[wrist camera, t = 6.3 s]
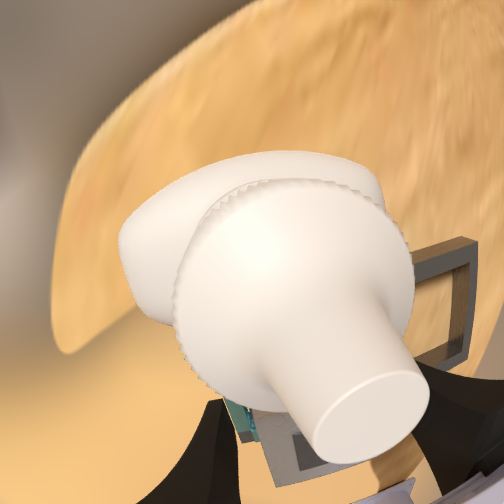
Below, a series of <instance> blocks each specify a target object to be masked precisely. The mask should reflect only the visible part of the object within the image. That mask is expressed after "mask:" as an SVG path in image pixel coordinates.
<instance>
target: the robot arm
mask: <svg viewBox="0 0 504 504" xmlns="http://www.w3.org/2000/svg"><path fill="white" fill-rule="evenodd" d="M415 362H416V364H417V365H418V367H419V369H420V371H421V372H422V374H423V376H424V378H425V379H426V381H427V383H428V386H429V390H430V397H429V402H428V406H427V408H426V411H425V413H424V415H423V416H422V418H421V420H420V421H419V423H418V424H417V425H416V427H415V428H414V429H413V430H412V431H411V433H412V435H413V436H414V438H415V439H416V441H417V443H418V444H419V446H420V448H421V450H422V452H423V453H424V455H425V457H426V459H427V461H428V463H429V465H430V467H431V470H432V472H433V474H434V476H435V478H436V481H437V483H438V486H439V488H440V491H441V494H442V497H441V498H439V499H437V500H436V501H434V502H432V503H430V504H504V380H486V379H477V378H470V377H464V376H460V375H456V374H452V373H448V372H445V371H442V370H439V369H436V368H434V367H431V366H428V365H426V364H424V363H421V362H419V361H417V360H415ZM238 478H239V476H238V447H237V441H236V435H235V429H234V426H233V424H232V421H231V419H230V416H229V414H228V411H227V408H226V406H225V403H224V401H223V399H217V400H211V401H209V402H208V403H207V405H206V408H205V411H204V414H203V416H202V418H201V421H200V423H199V426H198V428H197V430H196V432H195V434H194V436H193V438H192V440H191V442H190V443H189V445H188V447H187V449H186V450H185V452H184V454H183V455H182V457H181V458H180V460H179V461H178V463H177V464H176V465H175V467H174V468H173V469H172V470H171V472H170V473H169V474H168V475H167V477H166V478H165V479H164V480H163V481H162V482H161V483H160V484H159V485H158V486H157V487H156V488H155V489H154V490H153V491H152V492H150V493H149V494H148V495H147V496H146V497H145V498H143V499H142V500H141V501H139V502H138V503H137V504H241V500H240V494H239V479H238ZM414 483H415V478H414V477H412V478H410V479H408V480H406V481H403V482H401V483H399V484H397V485H395V486H393V487H391V488H388V489H386V490H384V491H381V492H379V493H377V494H374V495H372V496H369V497H367V498H364V499H361V500H359V501H356V502H353V503H350V504H414V503H413V501H412V500H411V498H410V493H411V490H412V488H413V485H414Z"/></svg>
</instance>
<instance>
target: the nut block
mask: <svg viewBox="0 0 504 504" xmlns="http://www.w3.org/2000/svg"><path fill="white" fill-rule="evenodd" d="M252 414H253V419H254V423H255V427H256V430H257V433H258V436H259V439H260V442H261V445H262V448H263V451H264V454H265V457H266V460H267V463H268V466H269V469H270V472H271V474H272V477H273V480H274V483H275V486H276V487H281V486H286V485H291V484H295V483H299V482H303V481H306V480H310V479H314V478H317V477H321V476H324V475H327V474H331V473H334V472H337V471H340V470H343V469H346V468H349V467H352V466H354V465H357V464H360V463H363V462H365V461H368V460H370V459H368V460H365V461H362V462H358V463H352V464H334V463H330V462H327V461H325V460H323V459H321V458H320V457H319V456H318V455H317V454H316V452H315V451H314V450H313V448H312V447H311V445H310V444H309V442H308V441H307V439H306V438H305V437H304V435H303V434H302V432H301V431H300V429H299V428H298V426H297V425H296V423H295V422H294V420H293V419H292V417H291V416H290V414H289V413H288V412H267V411H260V410H256V409H252ZM380 455H381V454H380ZM380 455H378V456H380ZM378 456H376V457H378ZM374 458H375V457H374ZM371 459H373V458H371Z"/></svg>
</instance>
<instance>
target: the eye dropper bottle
mask: <svg viewBox="0 0 504 504" xmlns="http://www.w3.org/2000/svg"><path fill="white" fill-rule="evenodd" d="M119 254H120V258H121V263H122V266H123V269H124V273H125V276H126V279H127V282H128V284H129V287H130V290H131V292H132V295H133V297H134V299H135V301H136V304H137V305H138V307H139V308H140V309H141V310H142V312H143V313H144V314H145V315H146V316H148V317H150V318H151V319H153V320H155V321H157V322H159V323H162V324H166V325H169V326H172V327H174V328H175V329H176V335H175V338H176V339H177V340H178V341H179V342H180V347H179V349H180V350H181V351H182V352H183V353H184V354H185V360H186V361H187V362H188V363H189V364H190V365H191V370H192V371H194V372H195V373H197V374H198V378H199V379H200V380H202V381H204V382H205V383H207V387H210V388H211V389H213V390H215V392H216V393H217V394H219V395H222V396H224V397H225V399H227V400H230V401H233V402H235V404H239V405H242V406H245V407H247V408H252V409H256V410H260V411H267V412H288V413H289V414H290V416H291V417H292V419H293V420H294V422H295V423H296V425H297V426H298V428H299V429H300V431H301V432H302V434H303V435H304V437H305V438H306V439H307V441H308V442H309V444H310V445H311V447H312V448H313V450H314V451H315V452H316V454H317V455H318V456H319V457H320V458H321V459H323V460H325V461H327V462H330V463H334V464H352V463H358V462H362V461H365V460H368V459H371V458H374V457H376V456H378V455H380V454H382V453H384V452H386V451H387V450H389V449H391V448H392V447H394V446H395V445H397V444H398V443H399V442H400V441H402V440H403V439H404V438H405V437H406V436H407V435H408V434H409V433H410V432H411V431H412V430H413V429H414V428H415V427H416V425H417V424H418V423H419V421H420V420H421V418H422V416H423V415H424V413H425V411H426V408H427V406H428V402H429V397H430V390H429V386H428V383H427V381H426V379H425V378H424V376H423V374H422V372H421V371H420V369H419V367H418V365H417V364H416V362H415V360H414V359H413V357H412V355H411V353H410V352H409V350H408V348H407V347H406V345H405V343H404V342H403V340H402V337H403V335H404V333H405V331H406V328H407V325H408V323H409V320H410V316H411V313H412V308H413V303H414V294H415V276H414V265H413V264H412V254H411V253H409V247H408V243H407V242H405V240H404V235H403V232H400V231H399V229H398V225H397V222H393V221H392V219H391V216H390V214H389V213H387V212H386V208H385V202H384V198H383V193H382V189H381V186H380V184H379V182H378V180H377V178H376V176H375V175H374V174H373V173H372V172H371V171H369V170H368V169H367V168H366V167H364V166H363V165H361V164H358V163H356V162H353V161H351V160H348V159H344V158H341V157H338V156H333V155H328V154H324V153H317V152H309V151H293V150H285V151H267V152H258V153H252V154H246V155H241V156H237V157H233V158H229V159H225V160H222V161H219V162H216V163H213V164H210V165H207V166H205V167H202V168H200V169H198V170H195V171H193V172H191V173H189V174H187V175H185V176H183V177H181V178H179V179H177V180H176V181H174V182H172V183H171V184H169V185H167V186H166V187H164V188H163V189H161V190H160V191H158V192H157V193H156V194H154V195H153V196H152V197H150V198H149V199H148V200H146V201H145V202H144V203H143V204H142V205H141V206H140V207H138V208H137V209H136V210H135V211H134V212H133V213H132V214H131V215H130V216H129V218H128V219H127V220H126V221H125V222H124V224H123V226H122V228H121V230H120V232H119Z"/></svg>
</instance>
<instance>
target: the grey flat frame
mask: <svg viewBox="0 0 504 504" xmlns="http://www.w3.org/2000/svg"><path fill="white" fill-rule="evenodd" d="M411 254H412V264H413V265H414V276H415V283H417V282H420V281H423V280H425V279H428V278H431V277H433V276H436V275H439V274H441V273H444V272H446V271H449V270H452V269H453V293H452V310H451V323H450V333H449V342H447V343H445V344H443V345H441V346H439V347H437V348H434V349H432V350H430V351H428V352H426V353H424V354H422V355H420V356H417V357H415V358H413V359H414V360H417V361H419V362H421V363H424V364H426V365H428V366H431V367H434V368H436V369H439V370H442V371H445V372H446V371H448V370H450V369H451V368H453V367H455V366H457V365H459V364H460V363H462V362H464V361H465V360H467V358H468V353H469V347H470V341H471V335H472V328H473V320H474V311H475V301H476V289H477V271H478V241H475V240H472V239H468V238H465V237H462V236H460V237H457V238H454V239H451V240H448V241H445V242H442V243H439V244H436V245H433V246H430V247H426V248H423V249H420V250H417V251H414V252H411ZM223 397H224V396H223ZM224 400H225V403H226V405H227V408H228V410H229V413H230V415H231V418H232V420H233V423H234V425H235V428H236V430H237V433H238V435H239V438H240V440H241V442H242V443H247V442H252V441H255V442H260V439H259V436H258V433H257V430H256V427H255V423H254V419H253V414H252V408H249V411H250V412H248V409H247V407H245V406H242V405H239V404H235V402H233V401H230V400H227V399H225V397H224Z"/></svg>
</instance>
